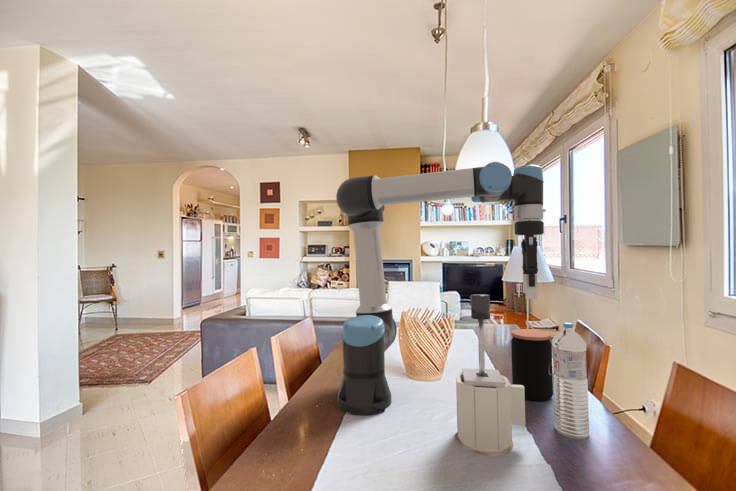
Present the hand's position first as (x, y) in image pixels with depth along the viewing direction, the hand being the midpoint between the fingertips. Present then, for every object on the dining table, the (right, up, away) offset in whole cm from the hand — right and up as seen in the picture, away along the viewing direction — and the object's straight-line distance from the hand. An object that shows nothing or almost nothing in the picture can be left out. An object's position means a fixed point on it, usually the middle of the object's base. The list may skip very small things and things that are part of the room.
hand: (529, 296), depth 97 cm
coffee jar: (+2, -29, +2) cm, 29 cm away
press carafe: (-19, -28, -22) cm, 40 cm away
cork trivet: (-20, -29, -22) cm, 41 cm away
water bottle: (+1, -29, -19) cm, 34 cm away
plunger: (-20, -19, -21) cm, 35 cm away
